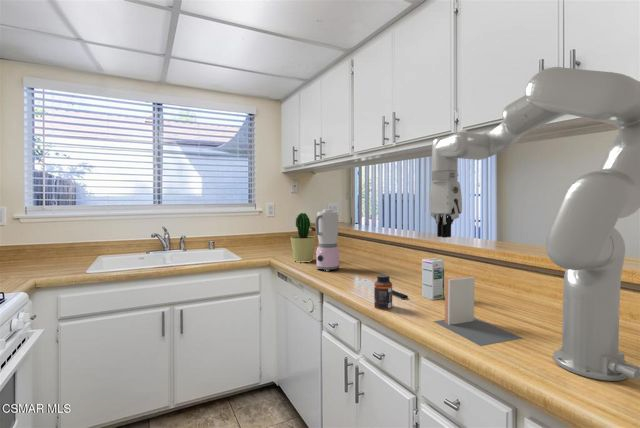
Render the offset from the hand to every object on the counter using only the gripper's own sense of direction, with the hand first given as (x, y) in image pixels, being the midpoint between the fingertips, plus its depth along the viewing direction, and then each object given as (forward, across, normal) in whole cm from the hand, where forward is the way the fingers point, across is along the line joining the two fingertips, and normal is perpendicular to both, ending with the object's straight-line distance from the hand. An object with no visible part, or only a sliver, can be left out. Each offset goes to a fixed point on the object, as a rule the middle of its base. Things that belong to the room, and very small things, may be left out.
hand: (444, 236), depth 104 cm
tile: (+25, -7, 0) cm, 25 cm away
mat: (+25, -13, 0) cm, 28 cm away
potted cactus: (+25, +109, +14) cm, 113 cm away
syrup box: (+25, +18, -10) cm, 33 cm away
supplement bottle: (+25, +13, +14) cm, 32 cm away
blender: (+25, +80, +10) cm, 85 cm away
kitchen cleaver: (+26, +35, +4) cm, 44 cm away
